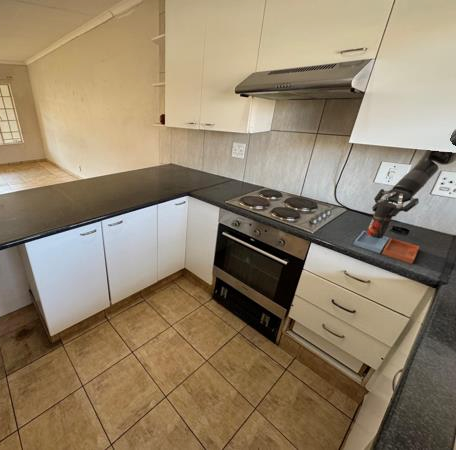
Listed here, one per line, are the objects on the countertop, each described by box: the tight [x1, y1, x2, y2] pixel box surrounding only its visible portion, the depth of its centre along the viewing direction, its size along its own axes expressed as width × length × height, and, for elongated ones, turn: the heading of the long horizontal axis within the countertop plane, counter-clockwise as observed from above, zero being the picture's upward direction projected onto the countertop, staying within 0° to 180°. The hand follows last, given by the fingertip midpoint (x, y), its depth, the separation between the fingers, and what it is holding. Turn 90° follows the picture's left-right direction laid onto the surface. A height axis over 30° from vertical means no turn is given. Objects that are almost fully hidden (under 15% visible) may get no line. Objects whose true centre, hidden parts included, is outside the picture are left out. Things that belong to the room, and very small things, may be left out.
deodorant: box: [366, 202, 397, 238], centre depth 109 cm, size 6×6×15 cm
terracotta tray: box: [381, 237, 421, 265], centre depth 107 cm, size 10×15×2 cm, turn 130°
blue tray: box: [352, 230, 390, 254], centre depth 114 cm, size 10×15×2 cm, turn 130°
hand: (381, 213), depth 107 cm, fingers closed on deodorant, 6 cm apart
